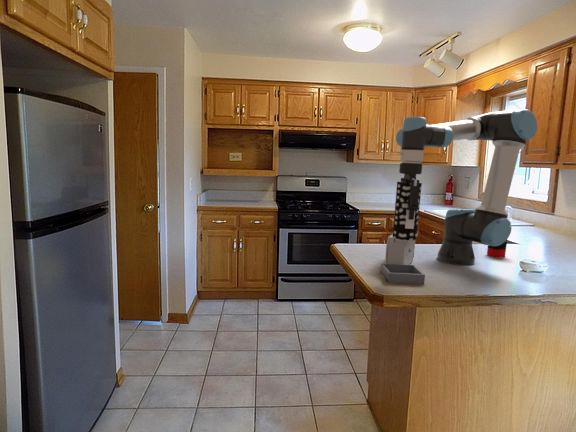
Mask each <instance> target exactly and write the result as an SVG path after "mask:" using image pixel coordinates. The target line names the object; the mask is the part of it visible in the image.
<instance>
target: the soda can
mask: <svg viewBox="0 0 576 432" xmlns="http://www.w3.org/2000/svg"><path fill="white" fill-rule="evenodd" d="M507 244H508V239H507V240H506V241H505V242H504V243H502V244H501V245H499V246H490V245H487V251H486V255H487V256H489V257H491V258H496V259H497V258H498V259H503V258H505V257H506V252H507Z"/></svg>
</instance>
